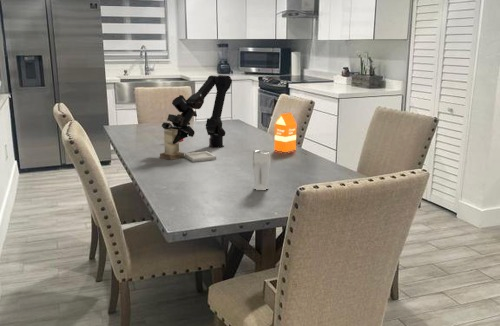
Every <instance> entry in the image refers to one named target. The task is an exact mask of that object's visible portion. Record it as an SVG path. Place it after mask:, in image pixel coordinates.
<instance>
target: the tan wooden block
mask: <svg viewBox="0 0 500 326" xmlns="http://www.w3.org/2000/svg"><path fill="white" fill-rule="evenodd" d="M177 133H178V130H176V129H167V130H165V129H164V130H163V136H164V138H163V139H164V141H163V142H164V143H163V144H164V152H165V154H167V155H175V154H179V152H180V142H177V143H176V144H173V141H174V139H175V137H176V135H177Z"/></svg>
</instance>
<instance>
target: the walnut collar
mask: <svg viewBox="0 0 500 326" xmlns="http://www.w3.org/2000/svg"><path fill="white" fill-rule="evenodd" d="M159 158H160V159H161V158H162V159H166V160H168V161H169V160H170V161H174V160H178V159H181V158H185V152H181V151H179V154H175V155H167V154H165V151H164V152H161V153H159Z"/></svg>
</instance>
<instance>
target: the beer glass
mask: <svg viewBox="0 0 500 326" xmlns="http://www.w3.org/2000/svg"><path fill="white" fill-rule="evenodd" d="M270 169H271V151H270V150H267V149H257V150H253V151H252V171H253V177H254V178H253V179H254V180H253V181H254V182H253V187H252V188H254V189H256V190H255V191H257V190H266V189H268V188H269V189H270V187H269V175H270ZM254 189H253V190H254ZM269 189H268V190H269ZM266 191H267V190H266Z"/></svg>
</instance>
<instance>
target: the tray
mask: <svg viewBox="0 0 500 326" xmlns="http://www.w3.org/2000/svg"><path fill="white" fill-rule="evenodd" d="M184 158H186V159H188V160H189V161H191V162H192V163H197V162H207V161H216V160H217V155H215V154H213V153H211V152H209V151H207V150H205V151H196V152H184Z"/></svg>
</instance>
